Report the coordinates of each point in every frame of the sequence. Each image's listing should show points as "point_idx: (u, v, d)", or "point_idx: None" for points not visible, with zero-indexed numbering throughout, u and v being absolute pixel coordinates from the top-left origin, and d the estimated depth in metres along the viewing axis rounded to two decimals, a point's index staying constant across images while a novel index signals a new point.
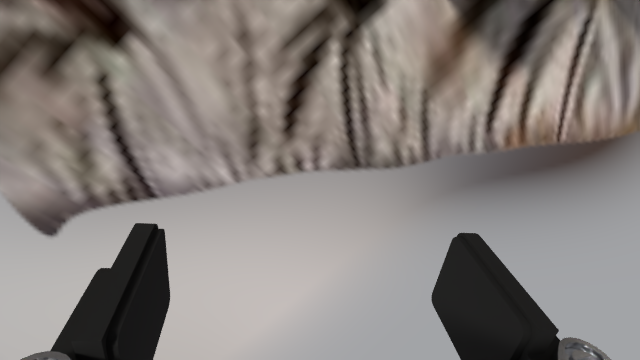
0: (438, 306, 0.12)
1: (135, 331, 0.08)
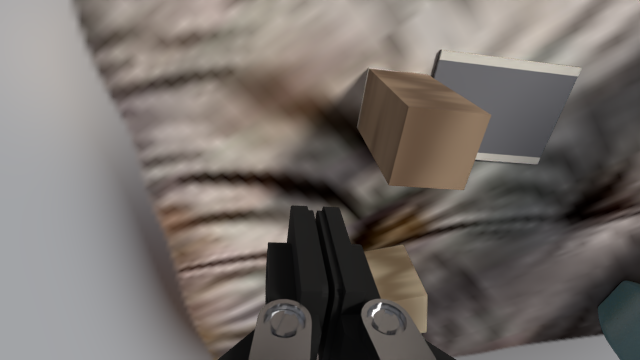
0: None
1: None
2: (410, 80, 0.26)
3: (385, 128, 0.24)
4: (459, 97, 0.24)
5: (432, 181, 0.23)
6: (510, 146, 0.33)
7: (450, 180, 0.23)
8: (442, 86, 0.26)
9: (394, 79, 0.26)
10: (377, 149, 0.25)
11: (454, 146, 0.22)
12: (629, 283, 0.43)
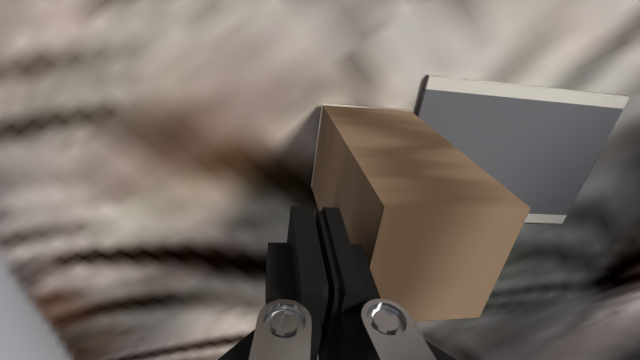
0: None
1: None
2: (385, 126, 0.17)
3: (346, 216, 0.14)
4: (465, 161, 0.14)
5: (428, 312, 0.13)
6: (526, 202, 0.24)
7: (458, 307, 0.13)
8: (434, 135, 0.17)
9: (360, 127, 0.17)
10: None
11: (465, 259, 0.12)
12: None
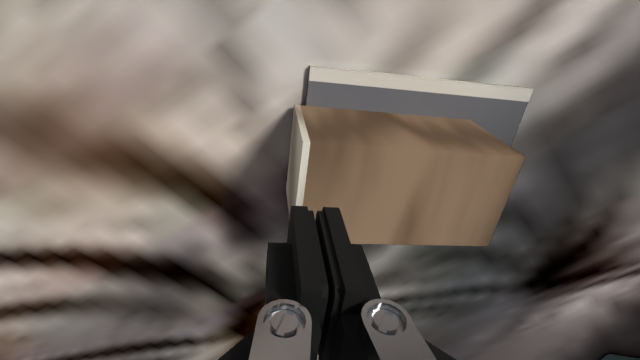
0: None
1: None
2: (363, 126, 0.17)
3: (449, 199, 0.17)
4: (416, 117, 0.20)
5: None
6: None
7: None
8: (367, 112, 0.19)
9: (375, 136, 0.16)
10: (426, 231, 0.17)
11: None
12: None
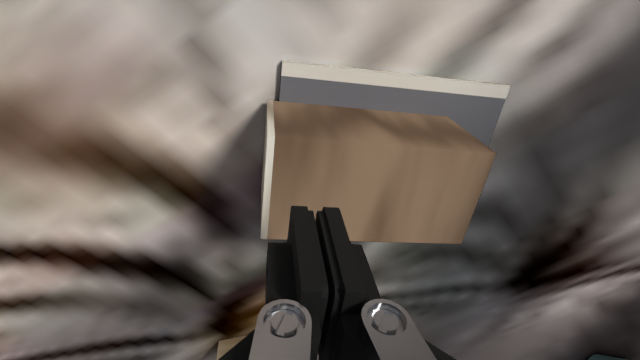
0: None
1: None
2: (333, 121, 0.17)
3: (419, 196, 0.17)
4: (391, 113, 0.19)
5: None
6: None
7: None
8: (341, 108, 0.19)
9: (343, 132, 0.16)
10: (398, 228, 0.17)
11: None
12: None
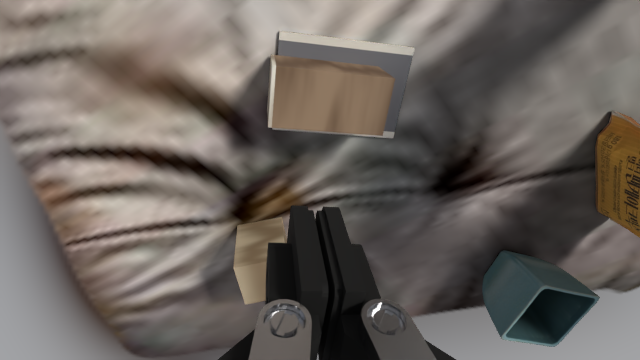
0: None
1: None
2: (308, 63, 0.31)
3: (355, 103, 0.30)
4: (343, 63, 0.33)
5: None
6: None
7: None
8: (313, 59, 0.33)
9: (312, 67, 0.29)
10: (345, 123, 0.31)
11: None
12: (504, 252, 0.47)
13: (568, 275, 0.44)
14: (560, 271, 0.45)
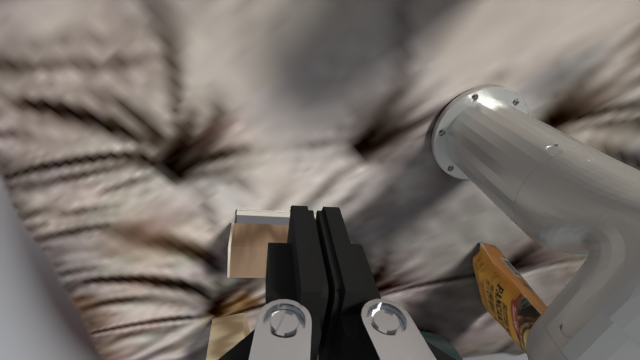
0: None
1: None
2: (254, 235, 0.47)
3: None
4: (281, 226, 0.49)
5: None
6: None
7: None
8: (260, 225, 0.49)
9: (256, 241, 0.46)
10: None
11: None
12: None
13: (455, 353, 0.61)
14: (449, 350, 0.61)
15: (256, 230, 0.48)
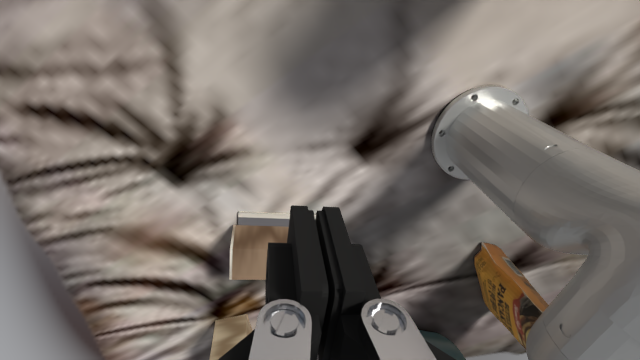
0: None
1: None
2: (256, 237, 0.47)
3: None
4: (282, 228, 0.50)
5: None
6: None
7: None
8: (262, 227, 0.49)
9: (257, 243, 0.46)
10: None
11: None
12: None
13: (457, 353, 0.61)
14: (452, 350, 0.61)
15: (258, 232, 0.48)
